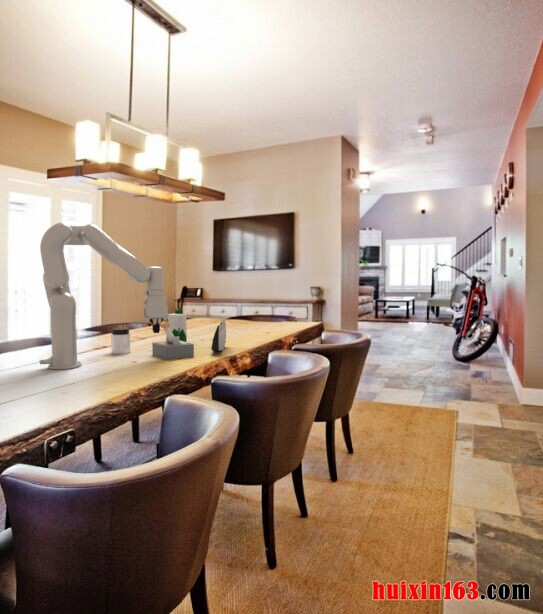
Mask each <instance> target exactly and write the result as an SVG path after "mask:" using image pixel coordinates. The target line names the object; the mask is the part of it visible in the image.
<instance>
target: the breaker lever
mask: <svg viewBox="0 0 543 614" xmlns="http://www.w3.org/2000/svg"><path fill="white" fill-rule="evenodd" d="M161 328H162V329H163V331H164V333H165V336H166V335H167V337H168V341H169V342H171V343H173V337H174V335H173V333H172V331H171V329H170V324H169V322H168V321H165V320H163V321H162V322H161V324H160V329H161Z"/></svg>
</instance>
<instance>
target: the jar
mask: <svg viewBox="0 0 543 614" xmlns="http://www.w3.org/2000/svg"><path fill="white" fill-rule="evenodd" d="M110 335H111V336H110V339H111V353H112V354H114V355H125V354H129V353H131V334H130V328H128V327H116V328H111V334H110Z"/></svg>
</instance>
